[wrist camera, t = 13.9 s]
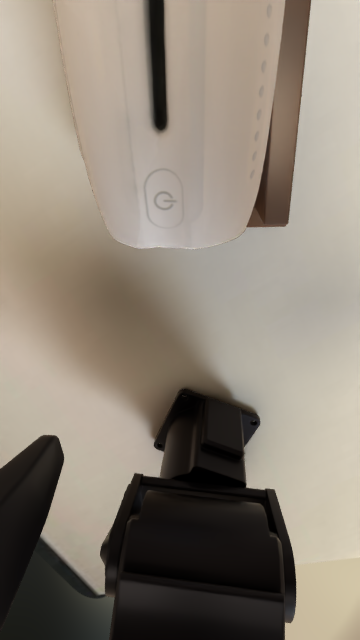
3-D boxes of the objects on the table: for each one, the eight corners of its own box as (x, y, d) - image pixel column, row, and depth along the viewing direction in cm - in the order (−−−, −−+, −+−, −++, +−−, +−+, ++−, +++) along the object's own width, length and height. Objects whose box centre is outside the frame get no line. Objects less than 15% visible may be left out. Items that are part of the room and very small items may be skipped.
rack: (283, 222, 19) (302, 248, 14) (124, 226, 20) (97, 251, 15) (321, -174, 12) (379, -352, 8) (81, -138, 13) (11, -277, 9)
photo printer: (239, 196, 17) (272, 291, 6) (156, 195, 18) (56, 284, 7) (260, -98, 12) (536, -1685, 2) (146, -90, 13) (-248, -1320, 2)
